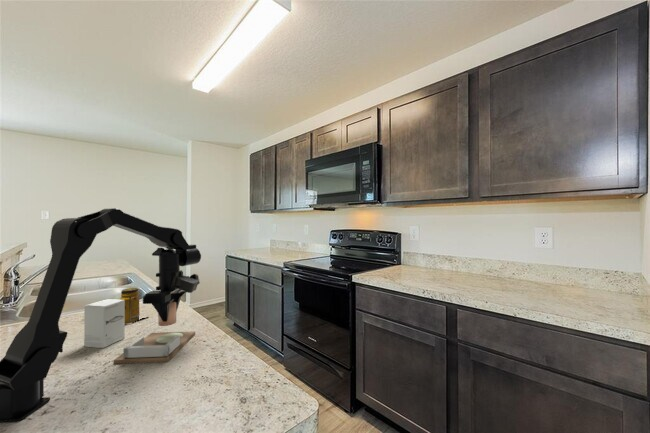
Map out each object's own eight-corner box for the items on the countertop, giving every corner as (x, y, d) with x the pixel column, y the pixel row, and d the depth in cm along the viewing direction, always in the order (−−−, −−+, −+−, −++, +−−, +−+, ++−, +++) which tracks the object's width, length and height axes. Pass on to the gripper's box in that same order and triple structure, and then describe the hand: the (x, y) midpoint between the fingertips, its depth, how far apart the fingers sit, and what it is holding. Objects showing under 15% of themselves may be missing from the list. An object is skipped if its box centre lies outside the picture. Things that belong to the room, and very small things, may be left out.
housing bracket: (167, 356, 76) (167, 346, 76) (123, 357, 75) (123, 348, 75) (179, 344, 83) (179, 335, 83) (139, 345, 82) (139, 337, 82)
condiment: (114, 323, 105) (114, 290, 105) (136, 315, 113) (136, 285, 113) (128, 325, 102) (127, 292, 102) (149, 317, 110) (149, 287, 110)
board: (167, 361, 75) (167, 357, 75) (113, 363, 74) (113, 359, 74) (195, 334, 93) (195, 331, 93) (151, 335, 92) (151, 332, 92)
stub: (171, 325, 86) (171, 306, 86) (154, 326, 86) (154, 306, 86) (179, 319, 91) (179, 301, 91) (163, 320, 91) (163, 301, 91)
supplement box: (103, 348, 83) (103, 306, 84) (83, 346, 85) (83, 305, 85) (125, 338, 91) (125, 299, 91) (106, 336, 92) (106, 298, 92)
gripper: (181, 273, 80) (182, 329, 79) (206, 263, 98) (206, 308, 98) (141, 274, 79) (141, 330, 79) (173, 264, 98) (173, 309, 97)
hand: (169, 318), depth 88 cm, fingers closed on stub, 5 cm apart
